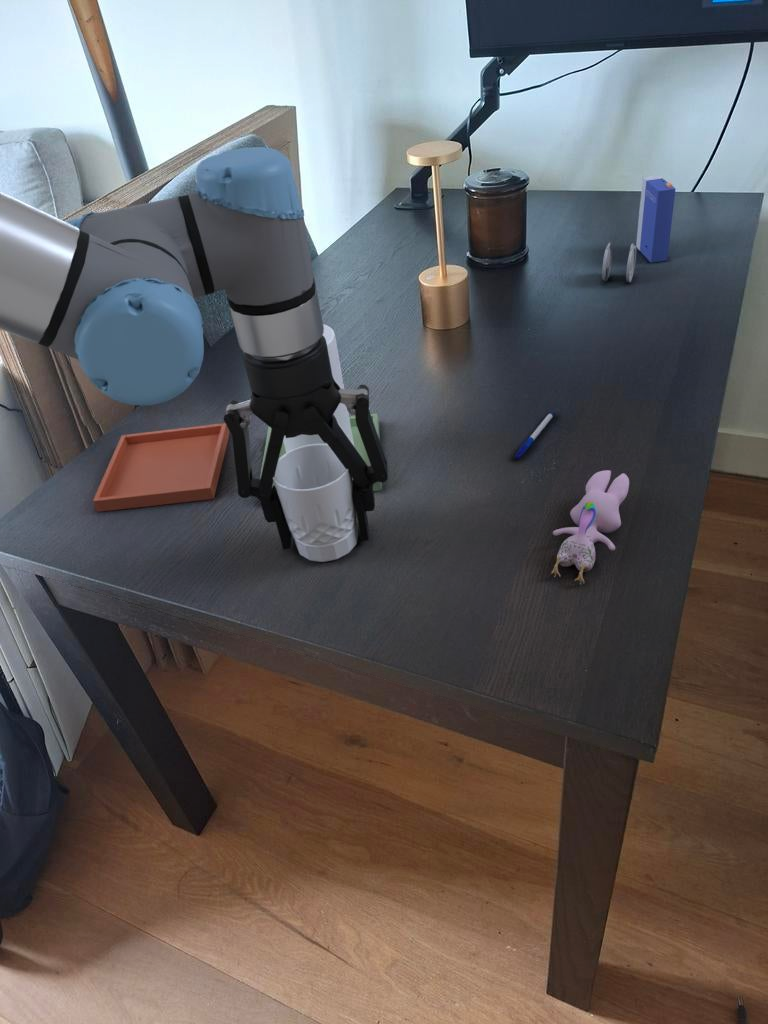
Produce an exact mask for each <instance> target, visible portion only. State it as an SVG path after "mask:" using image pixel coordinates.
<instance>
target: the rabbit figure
mask: <svg viewBox="0 0 768 1024" xmlns="http://www.w3.org/2000/svg"><path fill="white" fill-rule="evenodd" d="M611 475H612V471H611V470H608V469H606V470H601V471H597V472H595V473H594V474H593V475H592V476H591V477H590V478H589V479H588V481H587V483H586V485H585V495H583V497H582V498H581V500H580V501H579V502H578V504H576V505H575V506H574V507H572V509H570V512H569V514H570V518H571V519H572V521H573V523H574V524H576V526H570V527H568V526H567V527H561V528H559V529H555V530H553V531H552V535H553V536H554V537H555V536H556V537H557V536H560V535H563V534H568V535H569V534H570V536H569V537H567V538H566V539H565V540H564V541H563V542H562V543H561V545H560V547H559V549H558V552H557V555H556V561H555V564H554V566H553V569H552V570H551V573H550V575H552V574H554V578H556V576H557V575H558V576H559V577H561V574H560V572H559V568H558V567H559V565H560V566H561V567H565V568H568V567H571V566H575V567H576V569H577V570H578V571H579V572H578V576H577V577H576V578H575V579H574V582H575V581H579V585H580V586H581V585H582V583H583V584H585V582H586V581H585V579H584V577H583V573H586V572H587V573H588V572H589V571H591V569H593V567H594V565H595V562H596V547H595V545H594V544H596V543H598V542H601V543H603V544H604V545H606V546H607V547H608V549H609V550H610V551H612V552H613V551H615V550H616V546H615V544H614V543H613V542H612V541H611V539H609V538H608V537H607V536H606V535H604V534H609V533H613V532H615V531H617V530H618V529H619V528H620V527H621V525H622V520H621V516H620V515H621V514H620V509H619V508H620V505H621V504H622V503H623V502H624V500H625V499H626V498H627V495H628V493H629V487H630V479H629V477H628V475H627V474H626V473H623V472H622V473H621V474H619V475H618V476H617V477H616V478H614V479H613V481H612V482H611V484H610V486H609V488H608V485H609V482H610V480H611ZM607 488H608V489H607ZM606 490H607V491H606Z"/></svg>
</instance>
